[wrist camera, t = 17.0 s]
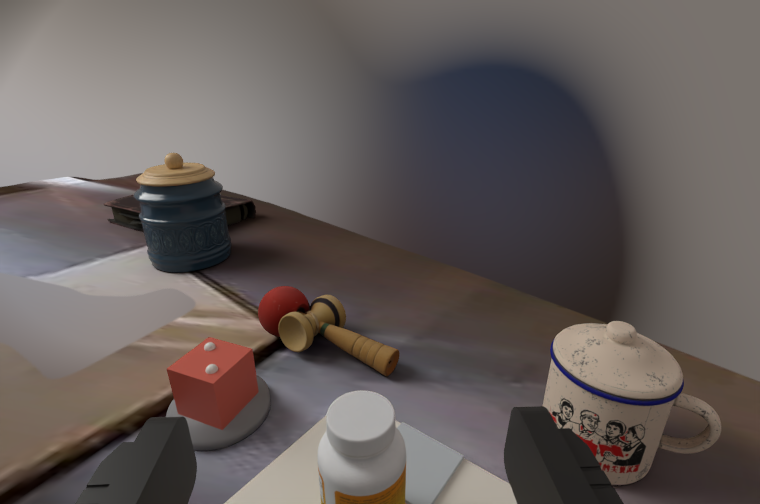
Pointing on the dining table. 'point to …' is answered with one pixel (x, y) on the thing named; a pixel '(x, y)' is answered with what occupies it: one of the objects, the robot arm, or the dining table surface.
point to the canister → (183, 216)
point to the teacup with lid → (621, 397)
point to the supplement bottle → (362, 452)
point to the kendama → (319, 326)
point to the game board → (423, 475)
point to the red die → (218, 394)
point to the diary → (129, 211)
